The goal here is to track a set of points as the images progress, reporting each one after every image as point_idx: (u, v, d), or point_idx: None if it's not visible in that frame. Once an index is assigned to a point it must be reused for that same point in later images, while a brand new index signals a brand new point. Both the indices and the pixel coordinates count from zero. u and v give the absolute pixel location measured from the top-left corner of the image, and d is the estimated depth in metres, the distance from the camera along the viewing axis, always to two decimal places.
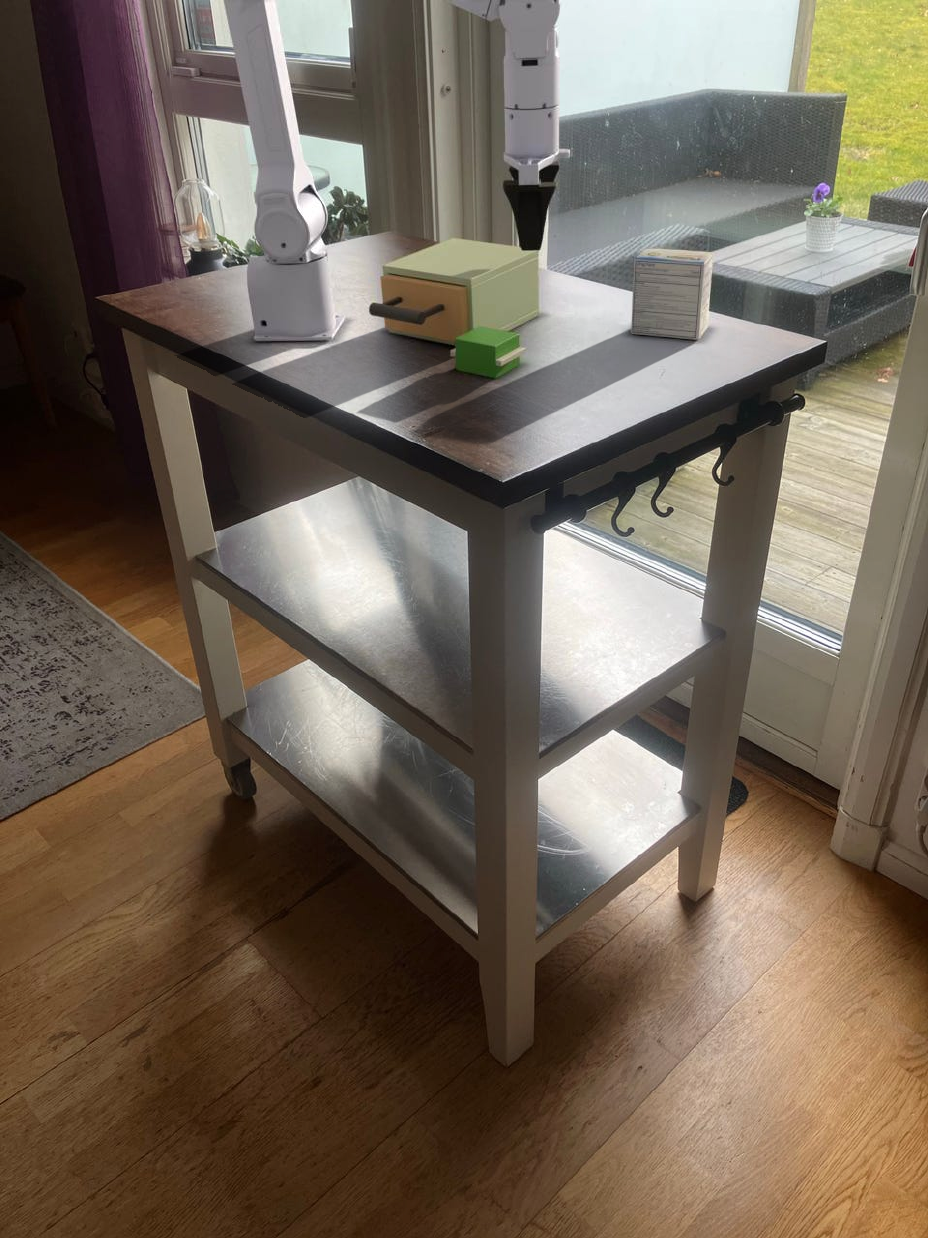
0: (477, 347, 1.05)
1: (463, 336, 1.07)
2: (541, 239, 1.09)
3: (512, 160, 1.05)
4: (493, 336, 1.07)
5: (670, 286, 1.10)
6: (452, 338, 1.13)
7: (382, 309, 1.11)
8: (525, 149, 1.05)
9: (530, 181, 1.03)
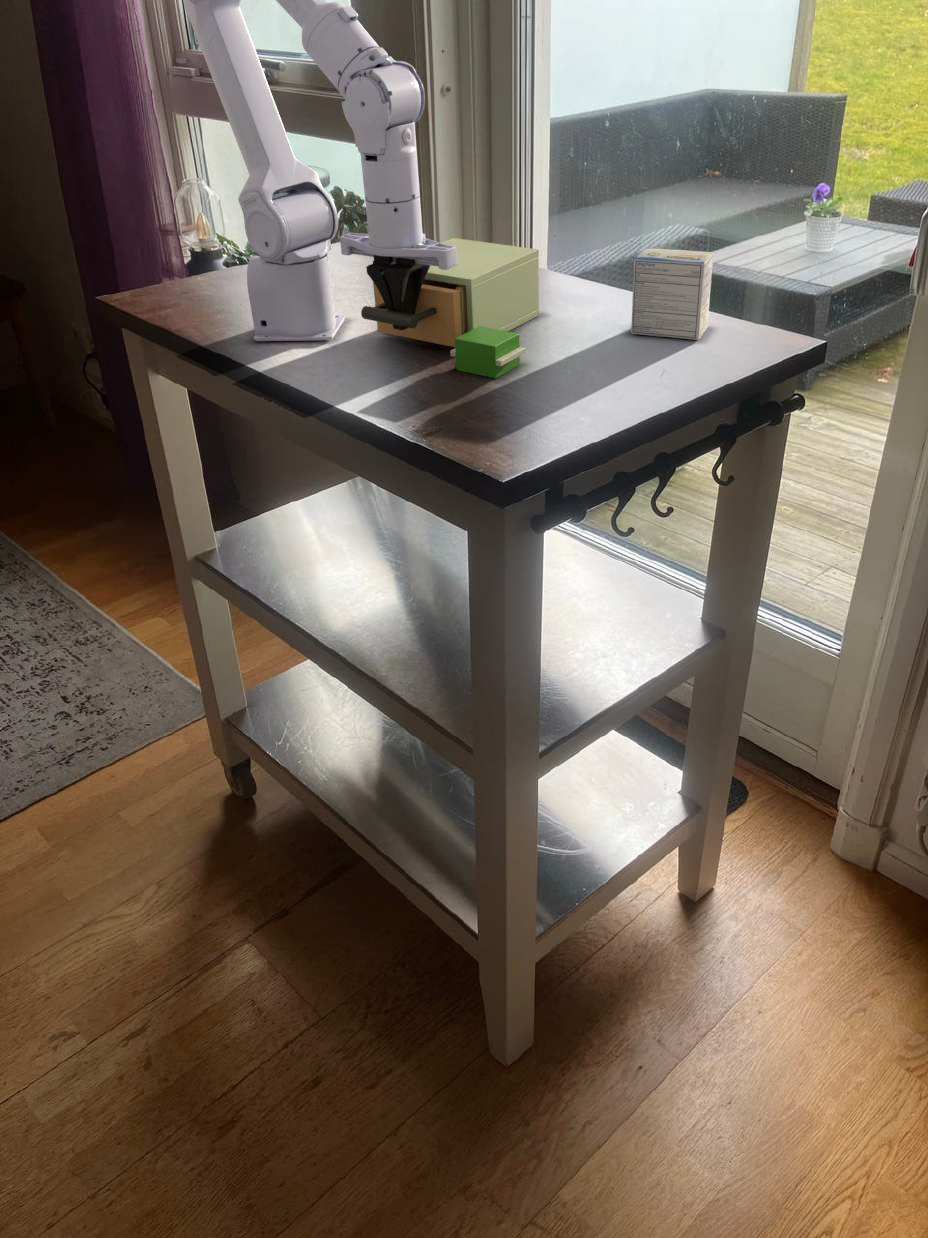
0: (477, 347, 1.05)
1: (463, 336, 1.07)
2: (414, 314, 1.12)
3: (413, 251, 1.04)
4: (493, 336, 1.07)
5: (670, 286, 1.10)
6: (445, 342, 1.12)
7: (374, 312, 1.10)
8: (413, 238, 1.05)
9: (453, 264, 1.04)
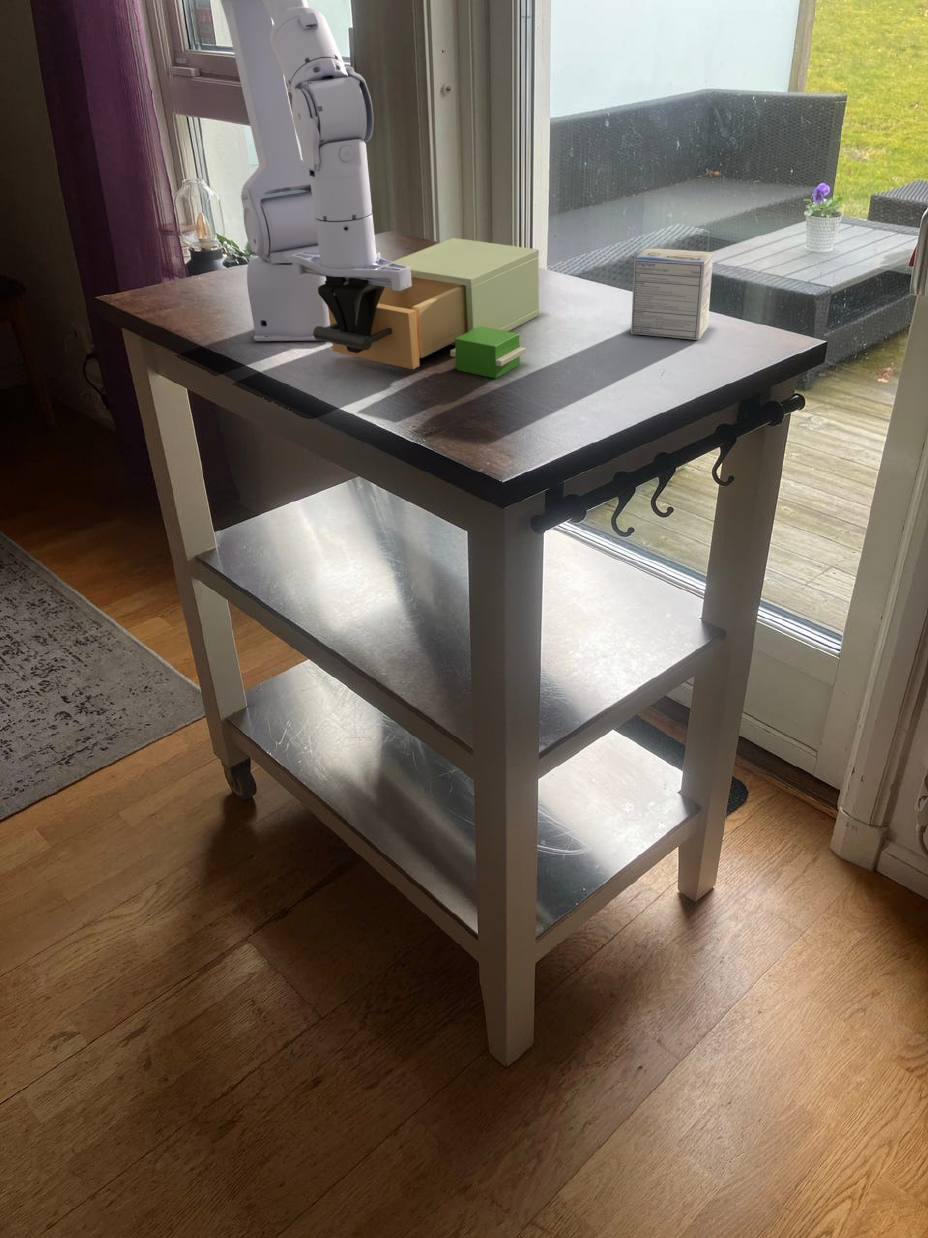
0: (477, 347, 1.05)
1: (463, 336, 1.07)
2: None
3: (365, 271, 0.99)
4: (493, 336, 1.07)
5: (670, 286, 1.10)
6: (401, 363, 1.07)
7: (326, 333, 1.05)
8: (365, 258, 1.00)
9: (407, 285, 0.99)
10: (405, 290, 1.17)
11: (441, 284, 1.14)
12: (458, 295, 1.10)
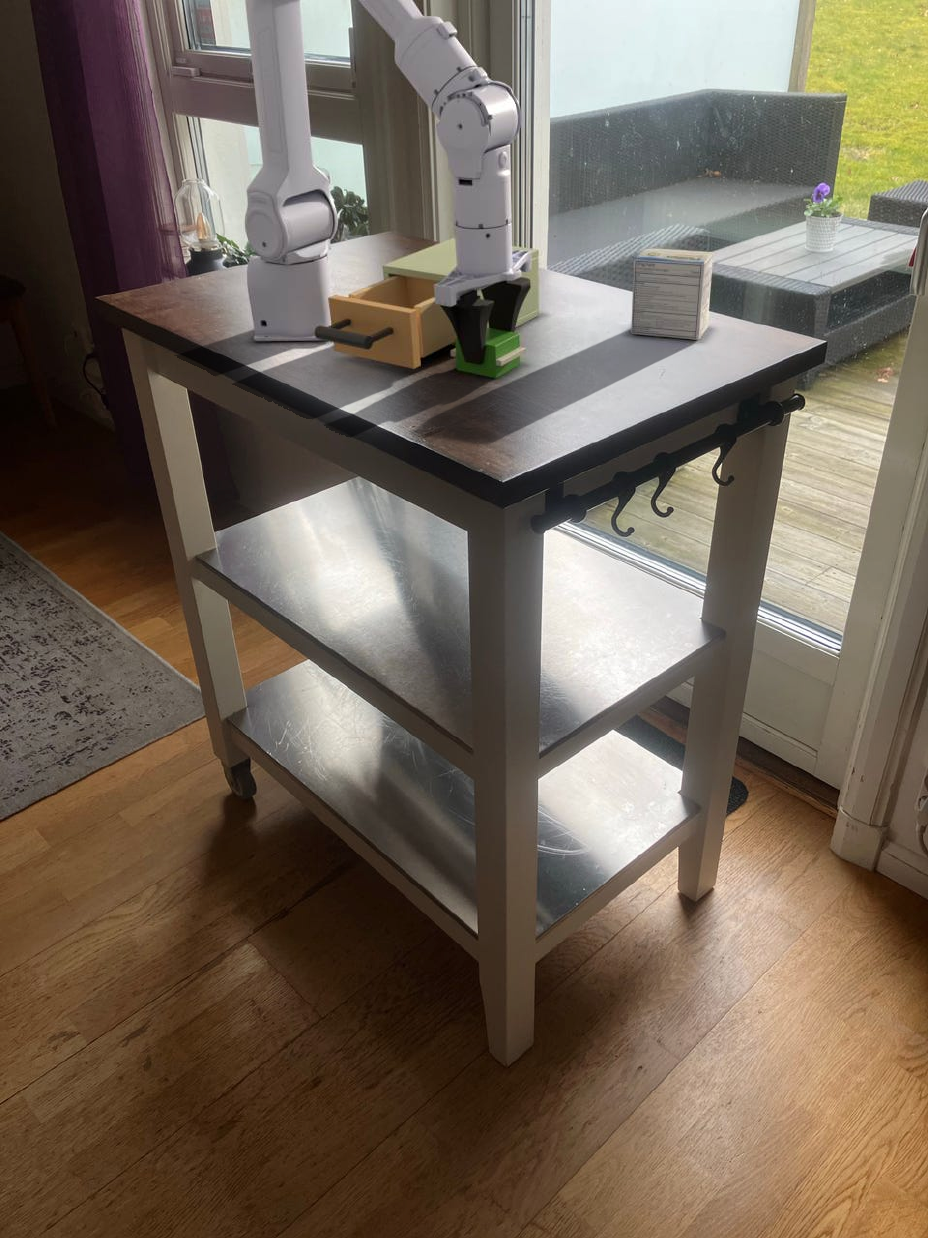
0: None
1: None
2: (480, 354, 1.05)
3: None
4: (493, 335, 1.07)
5: (670, 286, 1.10)
6: (403, 363, 1.07)
7: (328, 333, 1.05)
8: (463, 266, 1.01)
9: (444, 302, 0.99)
10: (406, 290, 1.17)
11: None
12: None
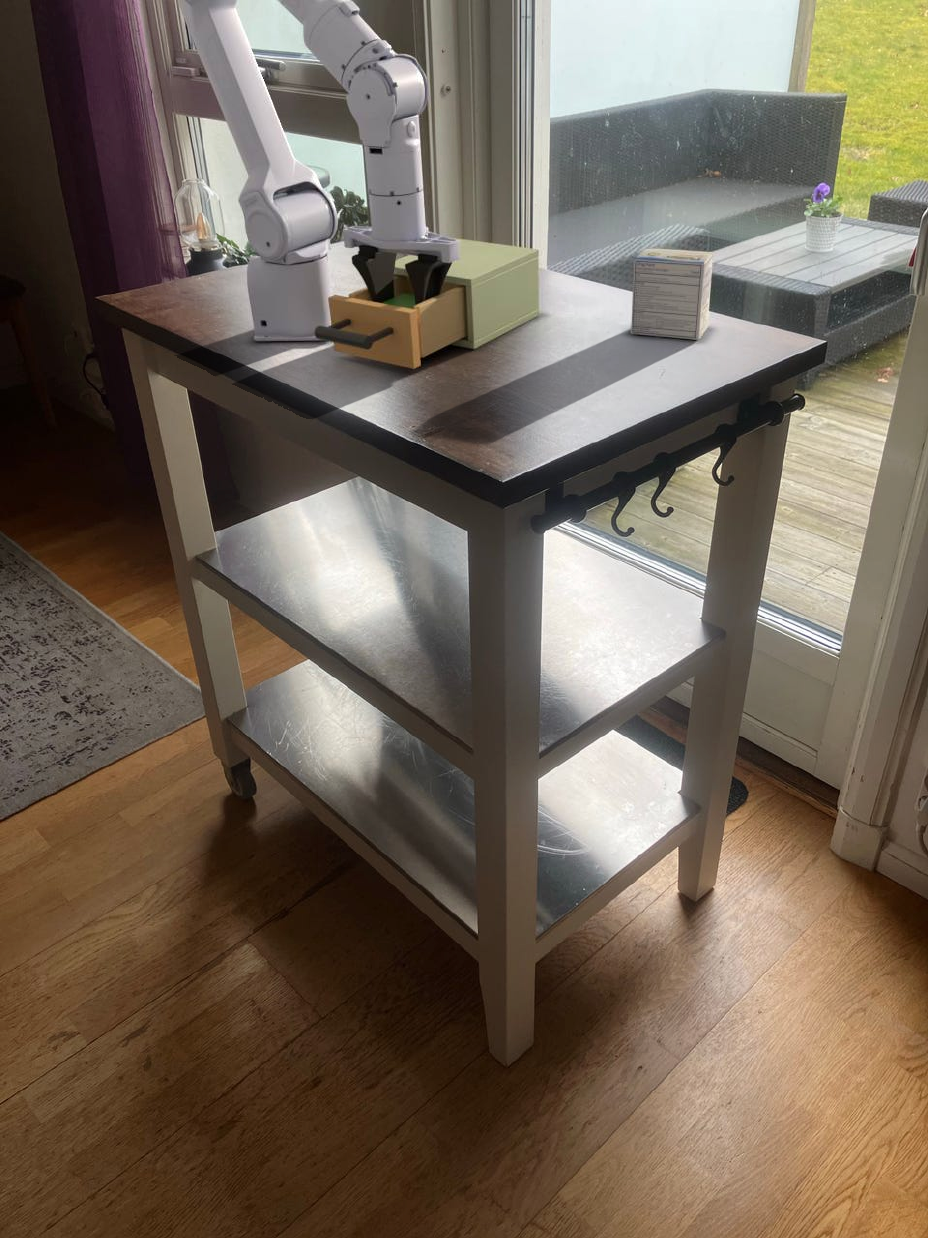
0: None
1: None
2: None
3: (416, 244, 1.04)
4: (407, 300, 1.12)
5: (670, 286, 1.10)
6: (403, 363, 1.07)
7: (328, 333, 1.05)
8: (416, 231, 1.05)
9: (456, 257, 1.05)
10: (406, 290, 1.17)
11: None
12: (459, 295, 1.11)
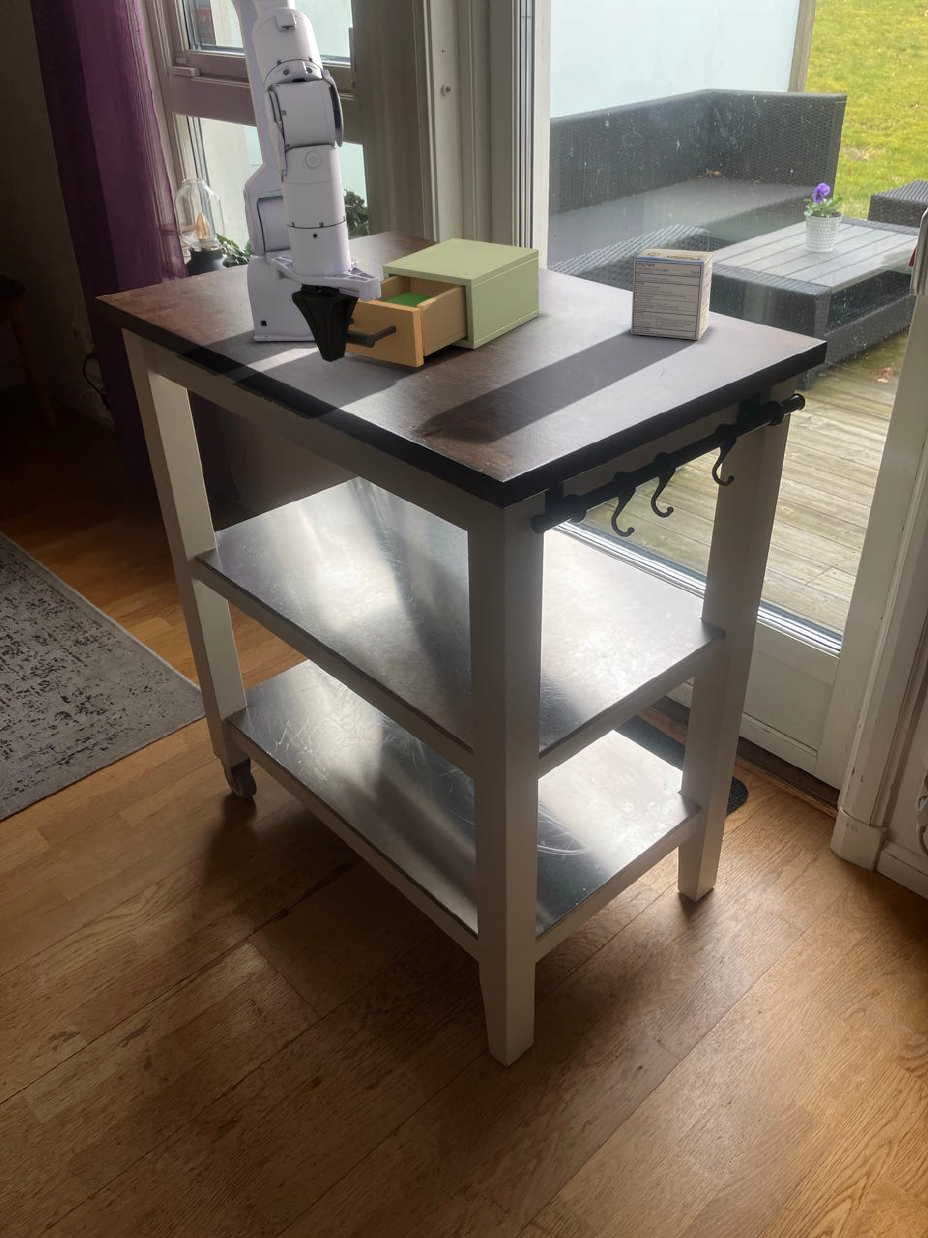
0: None
1: None
2: (345, 345, 1.04)
3: (333, 280, 0.96)
4: (409, 299, 1.12)
5: (670, 286, 1.10)
6: (405, 361, 1.08)
7: None
8: (336, 266, 0.97)
9: (375, 296, 0.96)
10: (409, 288, 1.18)
11: (445, 282, 1.14)
12: (462, 293, 1.11)
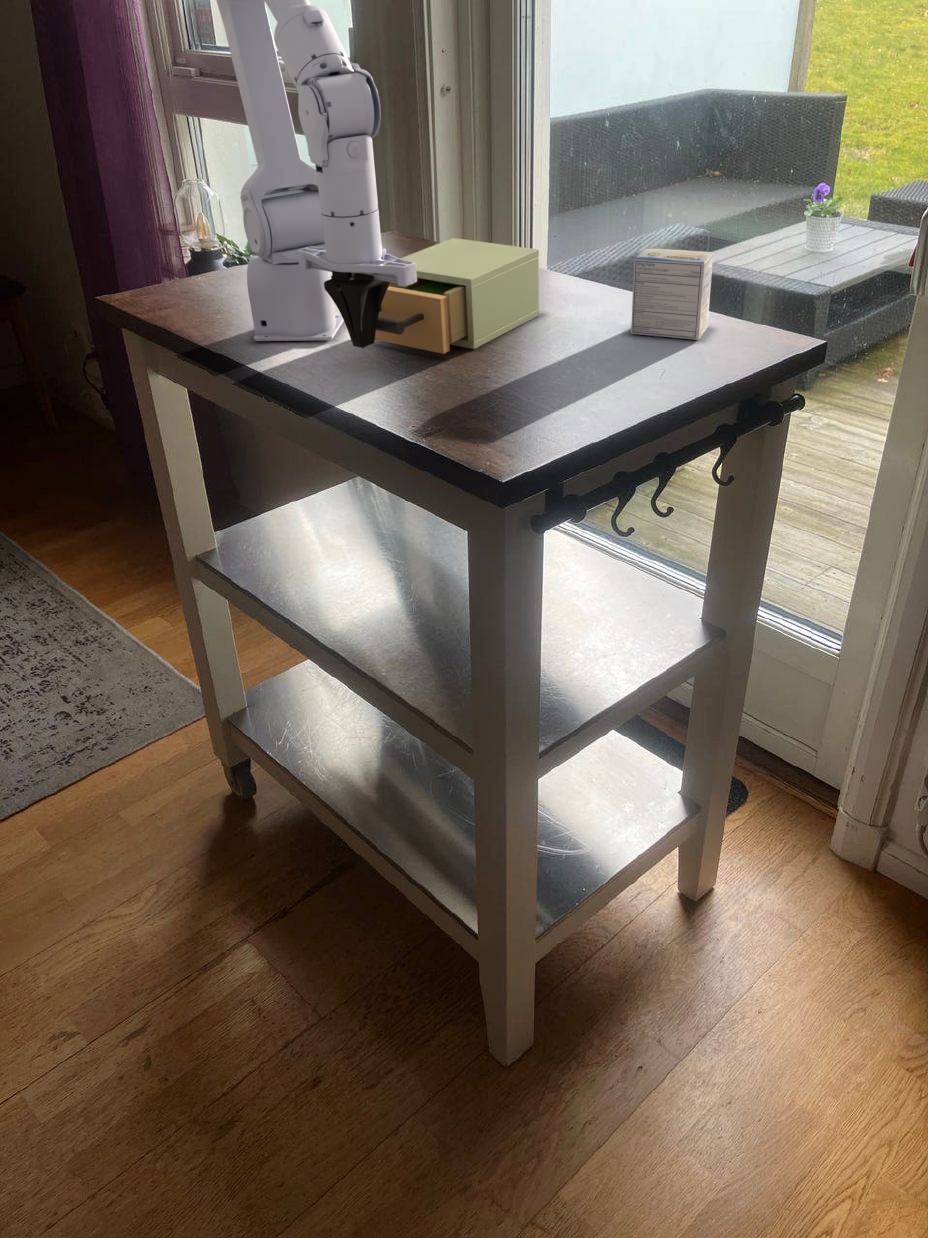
0: None
1: None
2: (375, 331, 1.08)
3: (371, 266, 1.00)
4: (435, 287, 1.15)
5: (670, 286, 1.10)
6: (432, 348, 1.11)
7: None
8: (371, 253, 1.01)
9: (412, 280, 1.00)
10: None
11: None
12: None
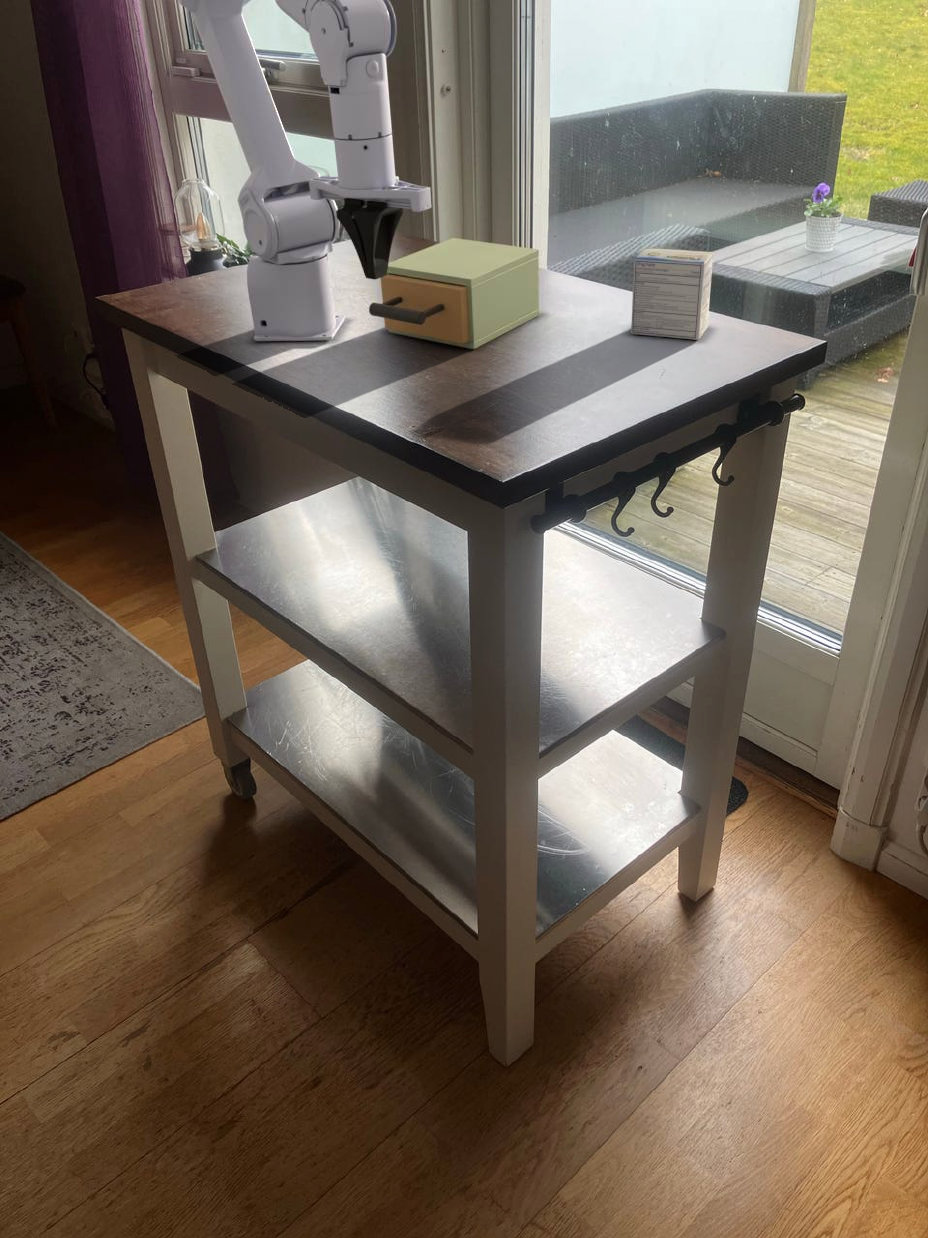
0: None
1: None
2: None
3: (385, 191, 0.98)
4: None
5: (670, 286, 1.10)
6: (452, 338, 1.13)
7: (382, 309, 1.11)
8: (384, 179, 0.99)
9: (426, 206, 0.98)
10: None
11: None
12: None
